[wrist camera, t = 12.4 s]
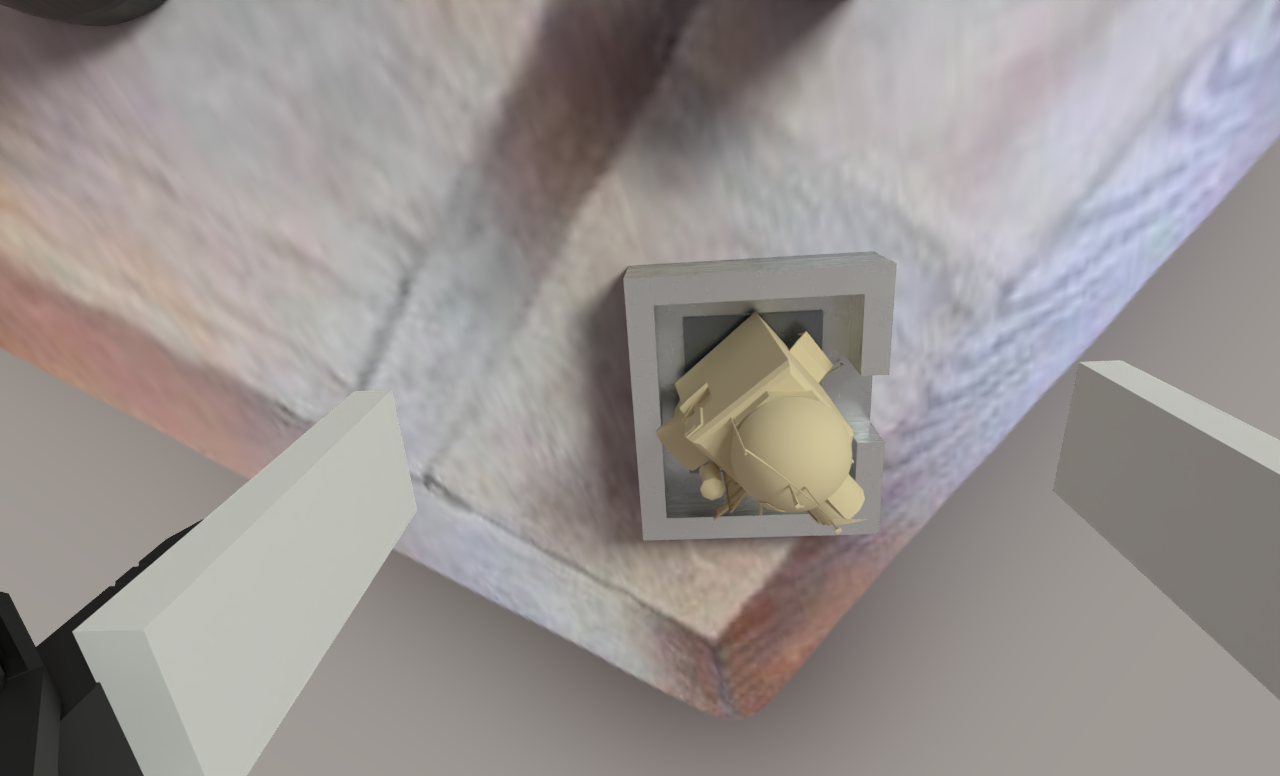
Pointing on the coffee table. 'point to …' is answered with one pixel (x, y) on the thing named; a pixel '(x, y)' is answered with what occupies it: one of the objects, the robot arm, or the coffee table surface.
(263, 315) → the coffee table surface
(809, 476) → the robot
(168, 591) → the robot arm
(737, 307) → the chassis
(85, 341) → the coffee table surface
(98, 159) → the coffee table surface
